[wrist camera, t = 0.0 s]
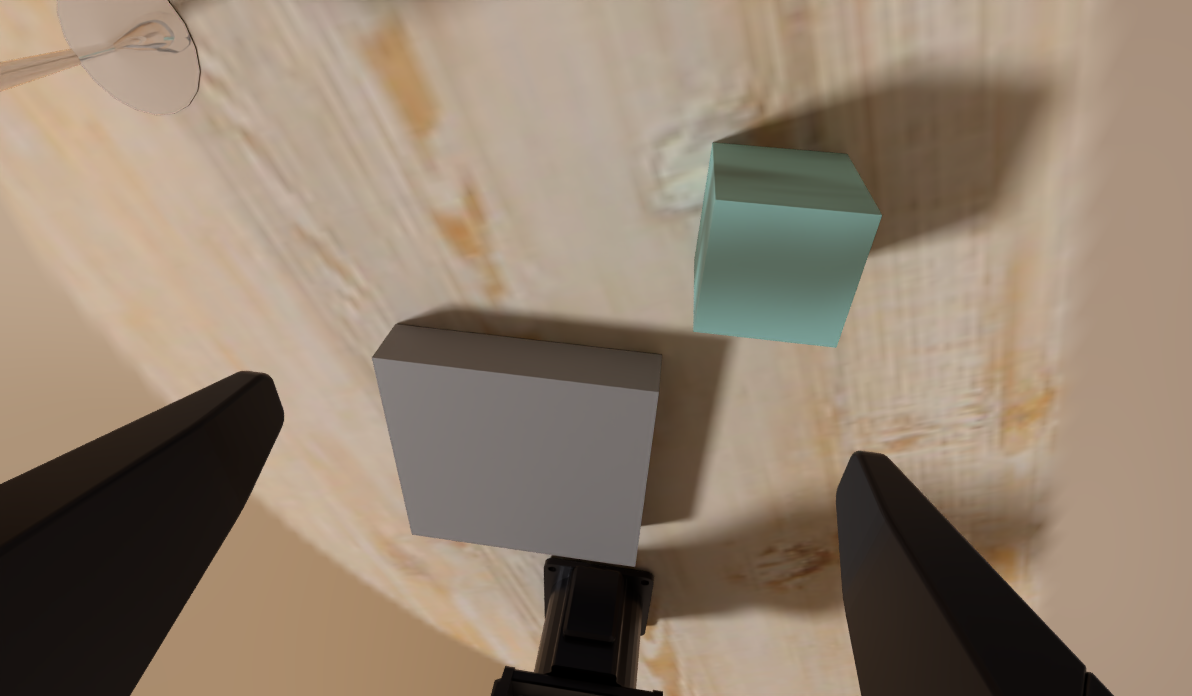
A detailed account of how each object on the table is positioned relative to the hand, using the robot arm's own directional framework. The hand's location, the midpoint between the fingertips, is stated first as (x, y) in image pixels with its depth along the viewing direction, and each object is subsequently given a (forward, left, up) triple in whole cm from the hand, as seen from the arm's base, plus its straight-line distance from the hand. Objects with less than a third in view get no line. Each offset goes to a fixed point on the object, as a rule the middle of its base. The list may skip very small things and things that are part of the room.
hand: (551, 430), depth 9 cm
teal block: (-2, -5, -15) cm, 16 cm away
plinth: (-15, +4, -15) cm, 22 cm away
